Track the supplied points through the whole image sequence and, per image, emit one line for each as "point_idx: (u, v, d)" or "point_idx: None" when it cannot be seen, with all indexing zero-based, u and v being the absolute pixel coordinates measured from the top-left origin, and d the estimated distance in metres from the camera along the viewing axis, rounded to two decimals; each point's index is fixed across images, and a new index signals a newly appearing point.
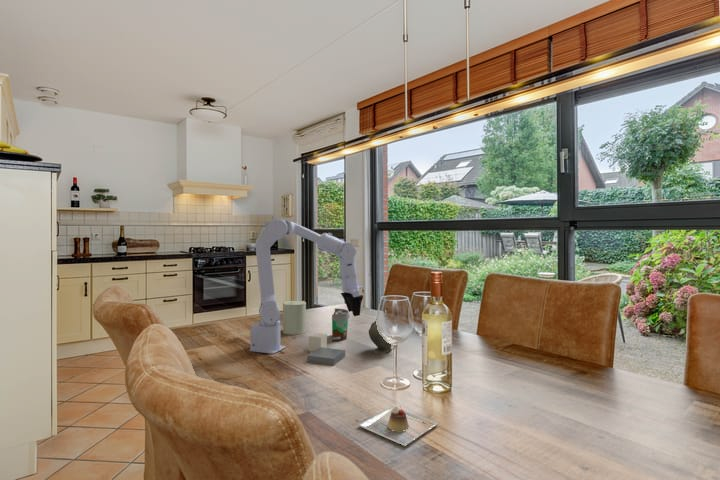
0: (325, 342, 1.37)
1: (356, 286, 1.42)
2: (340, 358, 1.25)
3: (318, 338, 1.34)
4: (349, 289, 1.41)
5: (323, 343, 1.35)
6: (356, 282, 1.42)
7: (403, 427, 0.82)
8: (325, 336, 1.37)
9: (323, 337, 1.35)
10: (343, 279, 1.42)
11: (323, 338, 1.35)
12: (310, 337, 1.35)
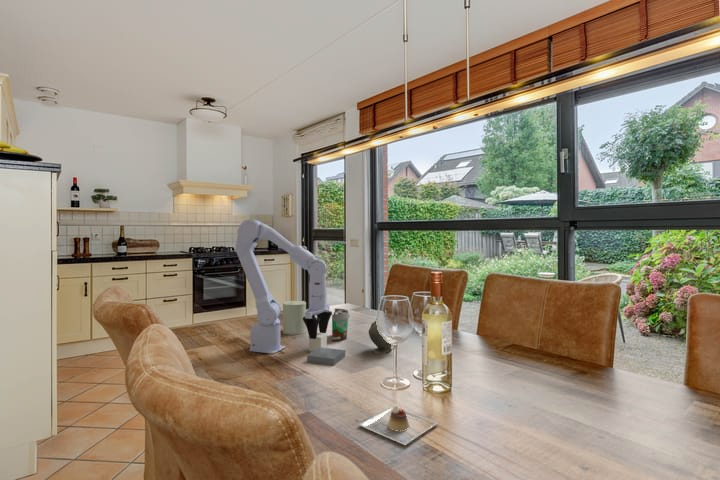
0: (325, 342, 1.37)
1: (319, 308, 1.33)
2: (340, 358, 1.25)
3: (318, 338, 1.34)
4: (311, 309, 1.34)
5: (323, 343, 1.35)
6: (320, 303, 1.33)
7: (403, 426, 0.82)
8: (325, 336, 1.37)
9: (323, 337, 1.35)
10: (309, 297, 1.36)
11: (323, 338, 1.35)
12: None
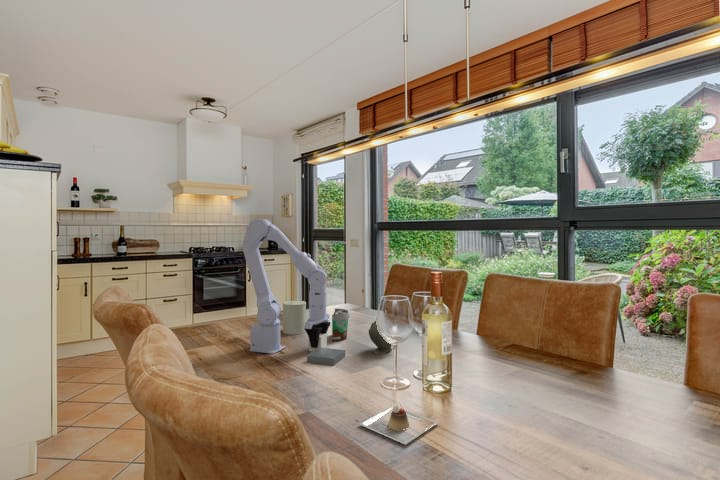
0: (325, 342, 1.37)
1: (319, 318, 1.33)
2: (340, 358, 1.25)
3: None
4: (311, 319, 1.34)
5: (323, 343, 1.35)
6: (320, 314, 1.34)
7: (404, 426, 0.82)
8: (325, 336, 1.37)
9: (323, 337, 1.35)
10: (309, 307, 1.36)
11: (323, 338, 1.35)
12: None
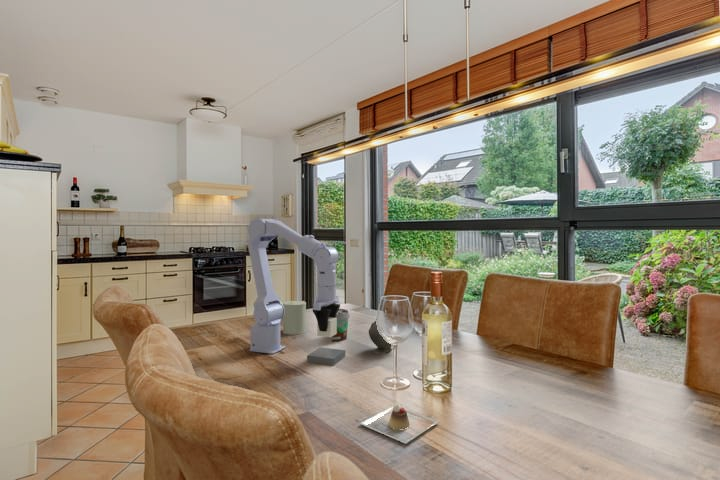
0: (335, 326, 1.27)
1: (328, 299, 1.23)
2: (340, 358, 1.25)
3: (328, 322, 1.24)
4: (319, 300, 1.24)
5: (333, 327, 1.25)
6: (329, 294, 1.23)
7: (404, 425, 0.83)
8: (335, 320, 1.27)
9: (333, 321, 1.25)
10: (317, 288, 1.26)
11: (333, 322, 1.25)
12: None
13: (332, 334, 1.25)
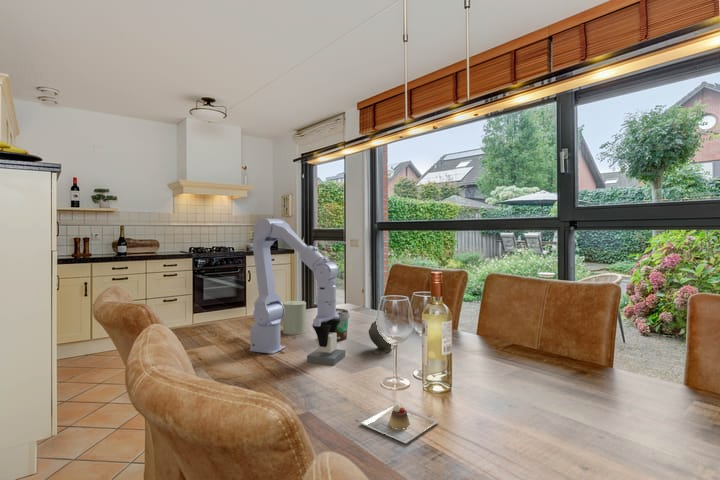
0: (335, 341, 1.27)
1: (328, 314, 1.23)
2: (340, 358, 1.25)
3: (328, 337, 1.24)
4: (319, 316, 1.24)
5: (333, 343, 1.25)
6: (329, 310, 1.24)
7: (404, 425, 0.83)
8: (335, 335, 1.27)
9: (333, 336, 1.25)
10: (317, 303, 1.26)
11: (333, 337, 1.25)
12: None
13: (332, 349, 1.25)
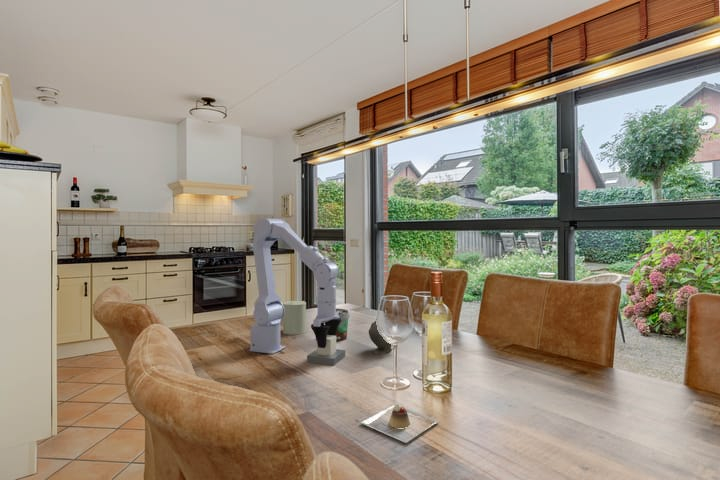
0: (335, 344, 1.27)
1: (328, 315, 1.23)
2: (340, 358, 1.25)
3: (328, 340, 1.24)
4: (319, 316, 1.24)
5: (333, 346, 1.25)
6: (329, 310, 1.24)
7: (404, 424, 0.83)
8: (335, 338, 1.27)
9: (333, 339, 1.25)
10: (317, 303, 1.26)
11: (333, 340, 1.25)
12: None
13: (332, 352, 1.25)
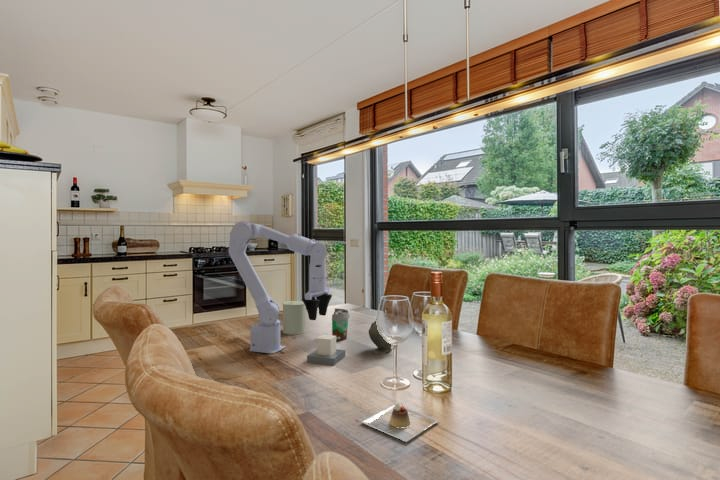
0: (335, 344, 1.27)
1: (319, 290, 1.35)
2: (340, 358, 1.25)
3: (328, 340, 1.24)
4: (311, 291, 1.36)
5: (333, 346, 1.25)
6: (319, 285, 1.35)
7: (405, 424, 0.83)
8: (335, 338, 1.27)
9: (333, 339, 1.25)
10: (309, 279, 1.38)
11: (333, 340, 1.25)
12: (319, 339, 1.25)
13: (332, 352, 1.25)
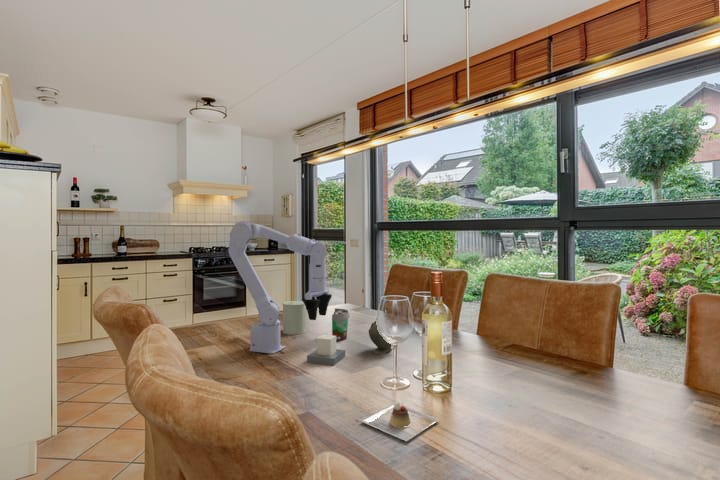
0: (335, 344, 1.27)
1: (319, 289, 1.35)
2: (340, 358, 1.25)
3: (328, 340, 1.24)
4: (311, 291, 1.36)
5: (333, 346, 1.25)
6: (319, 285, 1.36)
7: (405, 423, 0.84)
8: (335, 338, 1.27)
9: (333, 339, 1.25)
10: (309, 279, 1.38)
11: (333, 340, 1.25)
12: (319, 339, 1.25)
13: (332, 352, 1.25)
